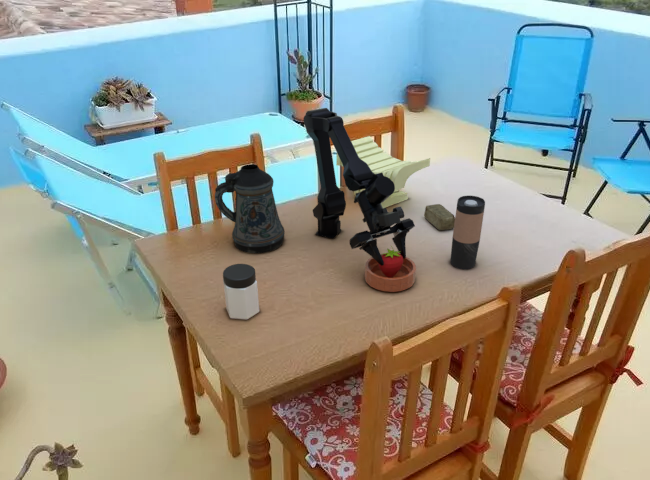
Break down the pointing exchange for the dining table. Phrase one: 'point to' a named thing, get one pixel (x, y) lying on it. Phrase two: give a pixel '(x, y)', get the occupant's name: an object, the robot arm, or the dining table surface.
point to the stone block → (439, 217)
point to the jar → (241, 291)
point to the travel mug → (467, 231)
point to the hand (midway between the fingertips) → (393, 261)
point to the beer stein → (252, 210)
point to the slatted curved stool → (386, 167)
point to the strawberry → (391, 263)
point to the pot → (397, 283)
